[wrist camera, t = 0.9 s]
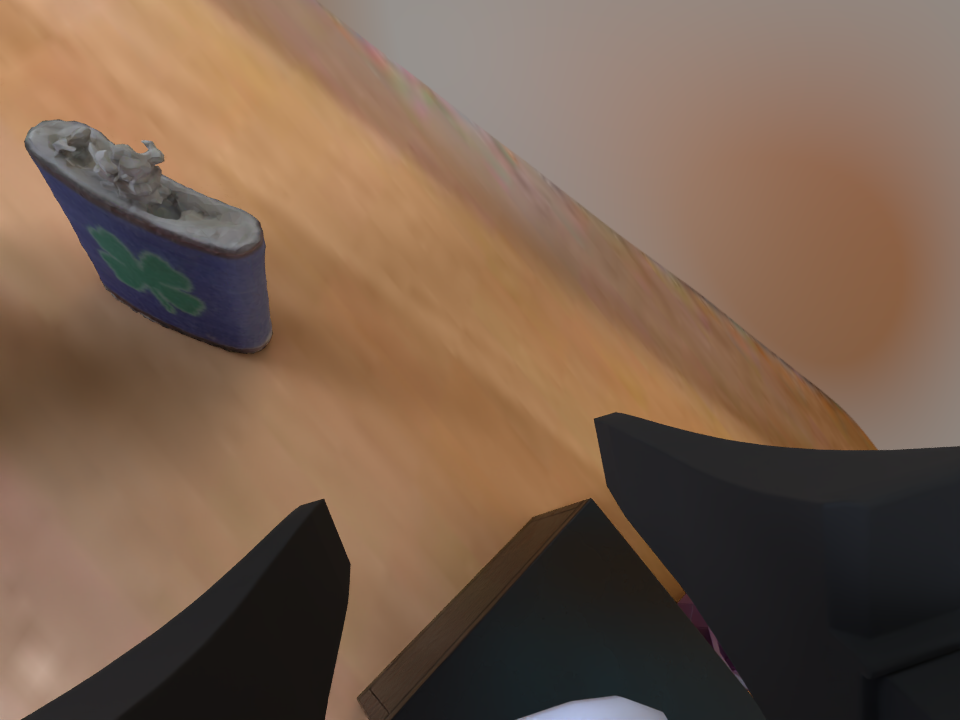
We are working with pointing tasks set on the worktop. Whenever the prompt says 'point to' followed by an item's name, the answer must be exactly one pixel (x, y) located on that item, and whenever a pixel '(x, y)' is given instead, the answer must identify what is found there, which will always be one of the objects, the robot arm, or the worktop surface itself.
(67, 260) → the worktop surface
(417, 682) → the cabinet
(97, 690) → the robot arm
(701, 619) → the purple cup
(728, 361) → the worktop surface
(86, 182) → the flask
